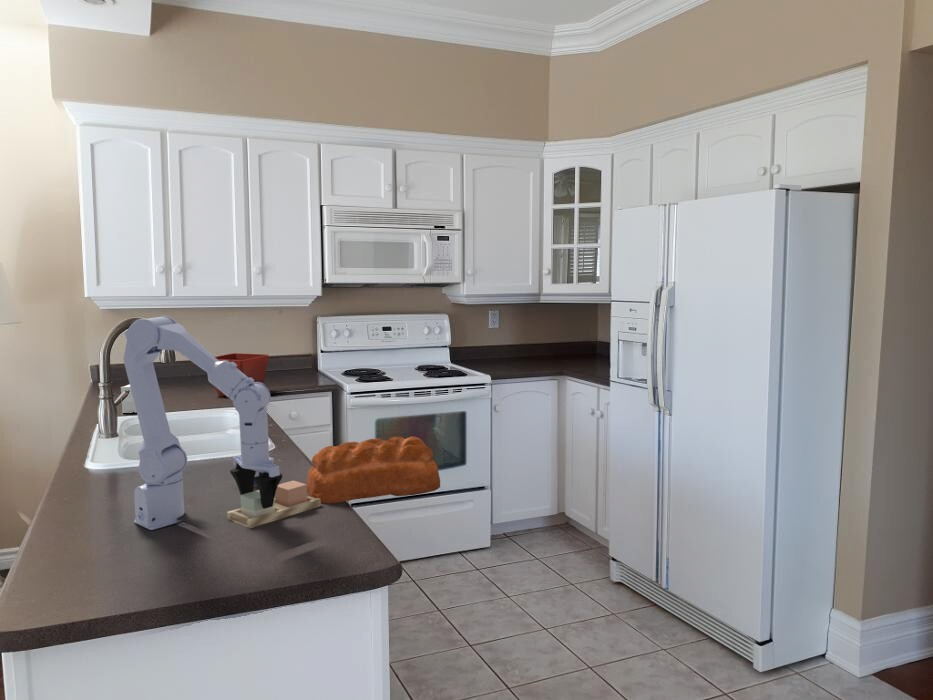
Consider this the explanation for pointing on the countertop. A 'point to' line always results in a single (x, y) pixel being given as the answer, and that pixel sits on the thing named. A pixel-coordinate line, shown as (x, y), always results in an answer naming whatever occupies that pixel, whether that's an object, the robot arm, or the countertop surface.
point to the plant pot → (247, 365)
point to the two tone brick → (254, 505)
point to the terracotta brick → (291, 493)
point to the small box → (128, 401)
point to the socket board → (273, 513)
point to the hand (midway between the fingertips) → (257, 503)
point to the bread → (372, 470)
